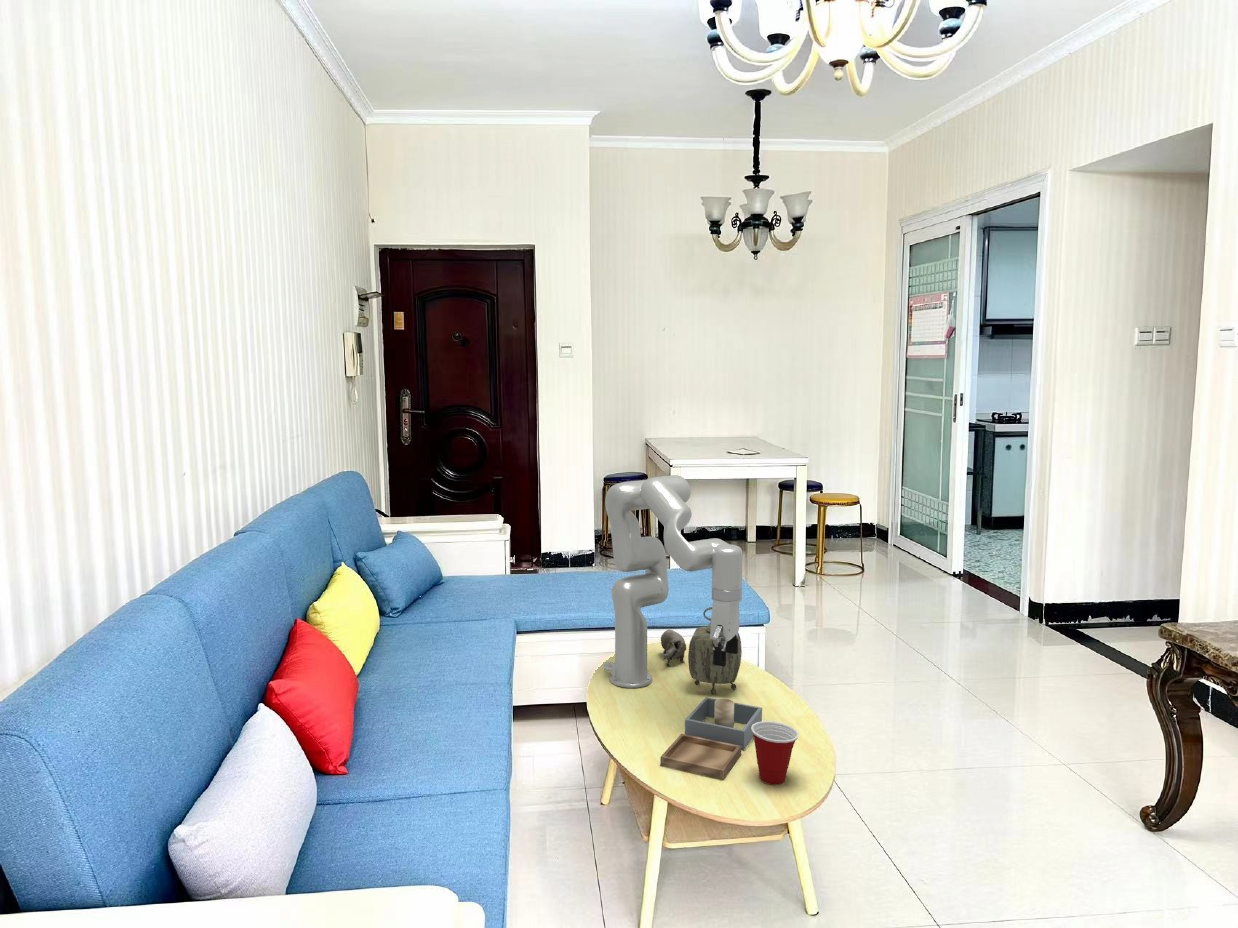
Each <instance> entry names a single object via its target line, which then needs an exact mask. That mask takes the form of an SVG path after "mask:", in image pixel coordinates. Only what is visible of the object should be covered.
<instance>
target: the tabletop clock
mask: <svg viewBox="0 0 1238 928" xmlns="http://www.w3.org/2000/svg"><path fill="white" fill-rule="evenodd" d="M709 610H712V606H710V607H707V608H705V609H704V610H703V614H702V615H703V617H704V618H705V620H708V621H710V622H709V623H708V625H707V626H700V627H697V628H696V629H695V630H694V632H693V634H692V637H691V639H690V640H689V644H688V645H689V646H688V655H687V659H688V660H687V661H688V662H687V663H688V670H689V675H690V677H691V679H693V680H694V685H695V686H700V684H701V682H702V683H708V684H712V685H711V688H710V690H709V691H710V694H711V695H716V693H717V689H716V688H715V687H716V684H719V685H721V684H722V685H728V684H730V688H731V689H732V690H736V688H737V684H736V683H735V682H736V680H737V678H738V673H739V671H740V668H741V663H742V662H741V661H742V641H741V634H740V633H739V632H738V638H736V639H738V653H737V654H732V653H726V666H717V665H714V664H713V640H712V639H711V638H710V630H711V617H708V616H706V612H708V611H709ZM720 638H723V637H720ZM720 643H721V644H723V642H720ZM725 651H726V647H725Z"/></svg>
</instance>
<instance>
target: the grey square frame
mask: <svg viewBox="0 0 1238 928" xmlns="http://www.w3.org/2000/svg"><path fill="white" fill-rule="evenodd" d="M716 700H717V698H712V697H704V699H702V701H701V702H700V703H699V704H698V705H697V706H695V708H694V709H693V710H692V711H691V713H690V714H689V715H688V716H687V717H686V718H685V719H684V734H686V735H690V736H695V737H700V738H705V739H710V740H714V741H719V742H724V743H729V744H734V745H739V746H741V752H742V751H743V752H744V751H745V750H747V747H749V745H750V743H751V742H752V740H754V737H753V732H752V730H751V727H752V725H753V724H755V723H757V722H762V721H763V707H760V706H755V705H749V704H744V703H739V702H734V723H740V724H743V725H744V727H743V728H742V729H741V728H736V727H734V728H731V727H726V726H721V725H716V724H714V723H711V722H706V721H705V720H706V719H707V718H708V717H709V718H712V719H713V718H714V711H715V701H716Z"/></svg>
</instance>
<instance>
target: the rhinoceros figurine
mask: <svg viewBox="0 0 1238 928" xmlns="http://www.w3.org/2000/svg"><path fill="white" fill-rule="evenodd" d="M660 644H661V648H662V649H663V652H662V653H661V655H662V657H663V660H666V667H669V668H670V667H672V665H670V663H671V661H673V660H675V659H677V660H679V662H681V664H686V662H685V660H684V657H685V653H686V651H687V644H686V641H685V639H684V637H683V636H682V635H681V634H680V633H679V632H677V631H674V629H673V630H672V629H666V630H665V631H664V632H663V633H662V634H661V636H660Z"/></svg>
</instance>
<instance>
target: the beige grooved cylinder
mask: <svg viewBox="0 0 1238 928" xmlns="http://www.w3.org/2000/svg"><path fill="white" fill-rule="evenodd" d="M716 699H717V698H716ZM734 703H735V702H734V700H731V699H729V698H718V699H717V700H716V701H715V711H714V720H713V722H714V723H713V724H716V725H721V726H726V727H731V728H735V727H734V726H735V725H734V724H735V722H734Z"/></svg>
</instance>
